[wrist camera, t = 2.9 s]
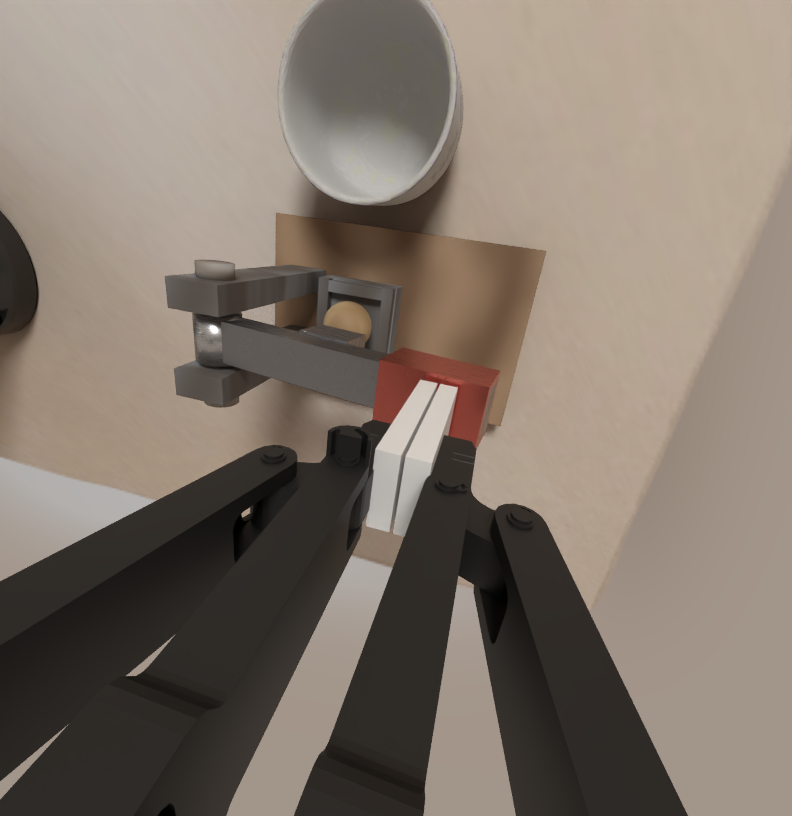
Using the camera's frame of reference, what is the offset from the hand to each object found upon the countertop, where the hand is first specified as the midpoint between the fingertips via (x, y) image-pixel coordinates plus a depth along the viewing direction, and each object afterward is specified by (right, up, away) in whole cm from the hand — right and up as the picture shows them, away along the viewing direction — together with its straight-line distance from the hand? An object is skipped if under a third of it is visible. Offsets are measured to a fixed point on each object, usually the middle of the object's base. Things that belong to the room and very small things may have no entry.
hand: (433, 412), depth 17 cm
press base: (-1, +8, +17) cm, 19 cm away
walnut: (-5, +6, +13) cm, 15 cm away
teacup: (-2, +22, +12) cm, 25 cm away
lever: (-4, +3, +6) cm, 8 cm away
